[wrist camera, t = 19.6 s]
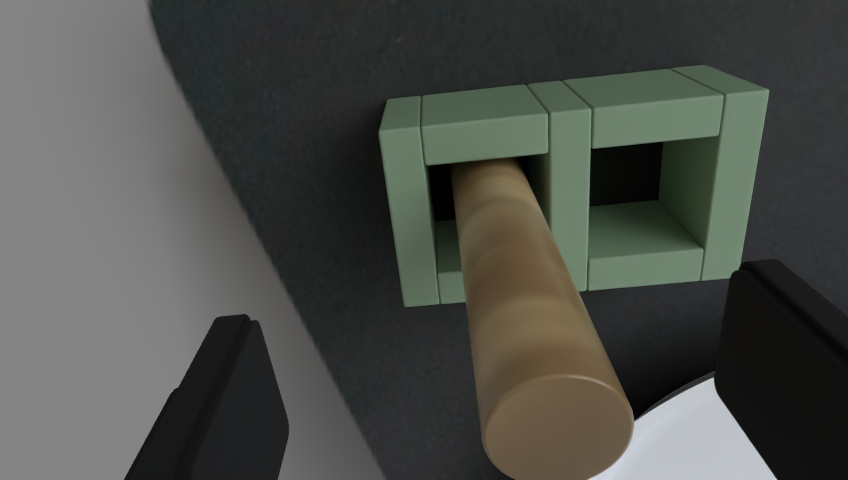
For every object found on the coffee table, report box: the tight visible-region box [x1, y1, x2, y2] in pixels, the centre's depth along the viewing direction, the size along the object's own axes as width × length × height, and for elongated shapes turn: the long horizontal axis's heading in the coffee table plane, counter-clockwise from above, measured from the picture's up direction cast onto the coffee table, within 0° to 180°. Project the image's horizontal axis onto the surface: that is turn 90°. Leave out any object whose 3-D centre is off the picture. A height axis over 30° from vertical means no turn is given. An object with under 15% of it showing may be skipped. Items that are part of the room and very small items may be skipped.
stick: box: [450, 156, 634, 480], centre depth 15 cm, size 2×2×13 cm
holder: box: [378, 65, 769, 307], centre depth 19 cm, size 11×6×4 cm, turn 96°
